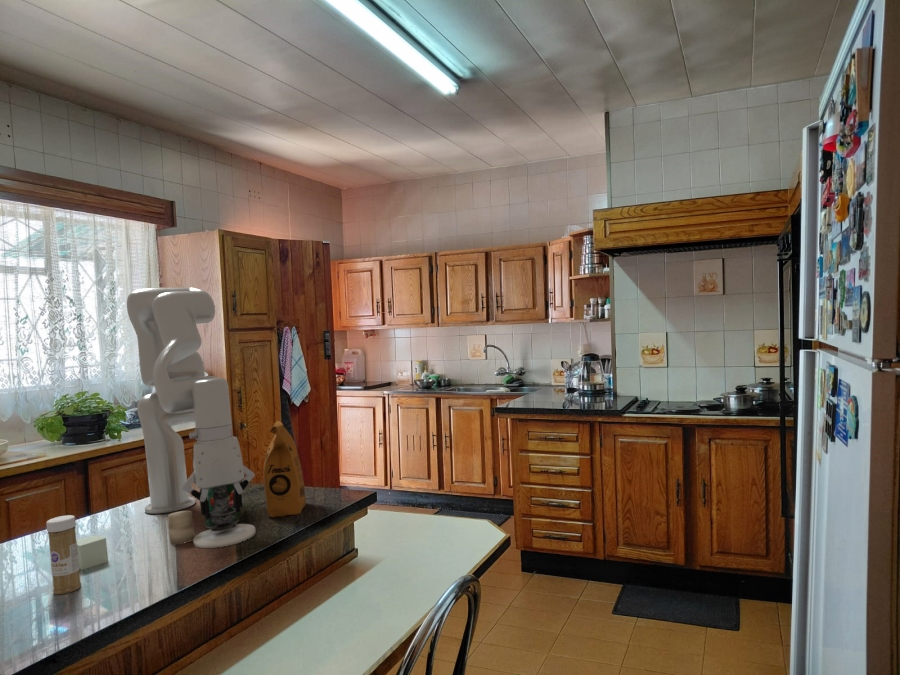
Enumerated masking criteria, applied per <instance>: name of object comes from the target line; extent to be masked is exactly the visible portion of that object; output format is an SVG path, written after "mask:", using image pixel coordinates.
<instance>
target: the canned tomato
mask: <svg viewBox="0 0 900 675" xmlns="http://www.w3.org/2000/svg"><path fill="white" fill-rule="evenodd" d="M227 492H228V493H229V495H228V501H229V505H230V507H232V508H234V501H233V492H234V488H233V486H232V484H229V485H227ZM213 494H214V493H213V488H209V489H208V493H207V496H206V498H207V500H208V502H209V512H211V511H213V510H214V498H213V497H212V495H213ZM239 513H240V512H236V511H235V516H234V518H233V520H232V521H230V522H233V523H235V524H238V522H240V516H239ZM203 518H204V519H203V520H204V527H205V528H206V527H208V528H207V529H211V528H213V527H214V526H215V525H217V524H214V523H213V522H212V521H211V519H210V518H209V519H206V518H205V517H204V516H203Z"/></svg>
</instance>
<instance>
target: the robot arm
mask: <svg viewBox="0 0 900 675" xmlns="http://www.w3.org/2000/svg"><path fill="white" fill-rule="evenodd" d="M126 311H127V314H128V317H129V320H130V324H131V325H132V327H133V329H134V331H135V334H136V337H137V347H138V348H137V349H138V358H139V359H138V360H139V361H138V362H139V368H140V369H139V371H140V376H141V378H140V379H141V381H142V383H143V384H144V385H145V387H149V388H155V392H151V393H148V394H145V395H143V396H142V397H141V398H139V400H138V402H137V407H136V408H137V414H138V418H139V422H140V426H141V429H142V436H143V440H144V448H145V449H144V450H145V459H146V460H145V461H146V468H147V477H148V478H147V480H148V487H149V488H148V489H149V499H150V503H149V504H147V505H146V506H144V512H145V513H147V514H151V515H152V514H153V515H155V514H165V513H174V512H178V511H182V510H185V509H187V508H190V507H192V506H193V505H195V503H196V500H198V501H199V506H200V513H201V516H203V518H204V517H205V518H206V519H209V518H210V512H209V502H208V500H207V498H206V496H207V493H208V489H209V488H214V487H219V486H224V485H229V484H232V486H233V488H234V492H233V501H234V508H235V509H236V512H239V513H241V508H243V497H242V494H243V492H244V490H245V489H246V488H247V486H248V485H249V483H250V482H251V481H252V480H253V478H254V477H255V475H256V474H255V472H253V471H252V470H251V469H249V468H248V467H247V466H245V465H244V462H243V456H242V452H241V446H240V443H239V440H238V437H237V436H234V432H233V423H232V422H233V421H232V413H231V412H232V411H231V402H230V400H231V399H230V392H229V384H228V381H227V379H226V378H224V377H218V376H216V375H215V376H214V375H206V374H205V367H204V366H205V365H204V362H203V358H202V356H201V354H200V353H199V352H198V350H199V349H200V348H201V346H202V337H201V334H200V332H199V329H198V326H197V325H198V324H199V325H200V324H209V323H211V322H213V320H214V319H215V316H216V315H215V314H216V306H215V303H214V300H213V297H212V296H211V295H210V294H209V293H208V292H207V291H206V290H203V289H199V288H196V287H191V286H189V287H187V286H186V287H184V286H183V287H150V288H141V289H136V290H133V291H131V292H130V293H129V294H128V296H127V299H126ZM189 423H195V429H194V431H192V432H189V434H188V437H189V439H195V440H196V441H195V442H194V443H193V452H192V473H191V474H190V475H189V477H188V476H187V467H186V466H187V465H186V457H185V456H186V454H185V447H184V446H185V445H184V441H183V438H182V436H181V435H180V434H179V433H178V432H177V431H175V430H174V429H173V428H172V427H173V426H177V425H182V424H183V425H184V424H189ZM193 484H194V485H196V487H197V488H198V489H199V491H198V490H196V489H195V488H193V487H192V485H193ZM190 495H191V496H190Z"/></svg>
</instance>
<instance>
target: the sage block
mask: <svg viewBox="0 0 900 675" xmlns="http://www.w3.org/2000/svg"><path fill="white" fill-rule="evenodd" d="M76 541H77V550H78V559H79V568H80V569H79V570H81V569H82V570H81V571H83V569H84V570H86V568H87V569H89V567H90V568H93V567H96V566H98V565H101V563H102V564H104V563H107V562H109V555H108V545H107V538H106V537H104V536H100V535H98V534H94V535H90V536H87V537H84V538H81V539H76ZM92 566H93V567H92Z"/></svg>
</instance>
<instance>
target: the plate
mask: <svg viewBox="0 0 900 675" xmlns="http://www.w3.org/2000/svg"><path fill="white" fill-rule="evenodd" d="M235 524H236V527H234V528H232V529H229V530H225V531H218V532H215V531H211V528H208V529H206V530H204V531H201V532H199V533H198V534H196V535H194V538H193V540H192V543H193V546H194V545H195V547H196V548H198V547H199V548H198V549H217V547H219V548H223V547H224V546H225V547H229V545H230V546H233V544H234V545H237V544H240V543H243V542H245V541H247V539H248V540H250V539H251V538H252V537H254V536H255V535H256V527H255V525H253V524H250V523H235ZM242 541H243V542H242ZM225 547H224V548H225Z"/></svg>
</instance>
